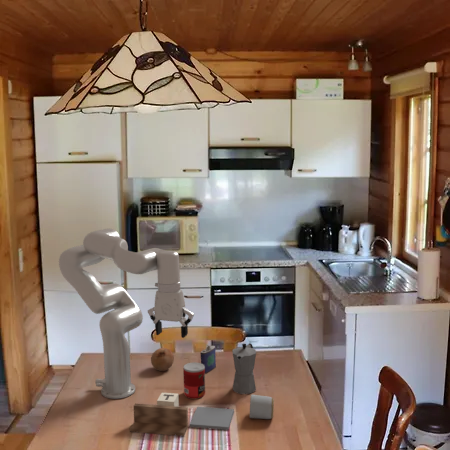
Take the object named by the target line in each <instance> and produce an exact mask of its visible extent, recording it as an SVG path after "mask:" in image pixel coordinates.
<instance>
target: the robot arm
mask: <svg viewBox="0 0 450 450" xmlns="http://www.w3.org/2000/svg"><path fill="white" fill-rule="evenodd" d="M105 259H108V260H110V261H113V263H114V264H115V266H116V267H117V268H118V269H119V270H121V271H124V272H127V273H130V274H134V275H143V274H147V273H150V272H153V271H157V272H156V273H157V282H155V283H154V286H155V288H157V290H156V291H155V297H154V307H151V308H150V309H148V310H147V313H148V315H149V316H150V317H149V318H150V320H152V322H153V323H152V324H154V330H155V335H156V336H159V335H160V334H162V333H163V325H162V324H163V323H162V321H164V322H166V321H167V322H175V323H177V322H179V323H180V325H181V326H180V335H181V338H183V339H184V338H186V337H187V335H188V334H189V333H188V330H189V329H188V327H189V326H188V325H189V324H190V323H191V322H192V320H193V318H194V316H195V313H194V312H192V311H191V310H189V309H188V308H186V304H185V303H186V302H185V298H184V297H185V296H184V293H183V290H182V289H181V274H180V272H181V271H180V255H179V253H178V251H176V250H167V249H166V250H165V249H162V248H158V247H153V248H149V249H144V250H140V251H137V252H135V251H130V250H129V246H128V242H127V241H126V240H125V239H124V238H121V236H120V233H118V231H117V230H116V229H114V228H103V229H98V230H94V231H91V232H89V233H87V234H86V235H85V237H84V238H83V241H82V244H81V245H76V246H72V247H69V248H67V249H65V250H63V251H62V252H61V253H60V255H59V258H58V267H59V271H60V273H61V274H62V277H63V278H64V279H65V280H66V281H67V282H68V284H70V285H71V286H72V288H73V289H74V290H75V291H76V292H77V294H78V295H79V296H80V298H81V299H82V301H83V302H84V303H85V304H86V306H87V307H88V308H89V310H90V311H91V312H93V313H94V314H96V315H97V314H98V315H99V314H102V313H105V314H103V315H102V317H101V318H100V320H99V331H100V335H101V338H102V339H101V340H102V346H103V347H102V348H103V364H104V367H103V368H104V378H103V379H102V378H95V381H94V382H95V387H101V393H100V394H101V395H102V396H103V397H104V398H106V399H113V400H117V399H118V400H119V399H123V398H128V397H129V396H131V395H133V394H134V393H135V392H136V385H135V384H134V383H132V381H131V380H132V379H131V355H130V353H131V351H130V344H129V343H130V342H129V341H128V339H127V338H126V334H127V333H129V332H130V331H133V330H135V329H137V328H138V327H140V326H141V324H142V323H143V319H144V318H143V317H144V316H143V312H142V310H141V308H140V307H139V306H138V304H137V302H135V301H134V299H133V298H132V297H131V295H130V294H129V292H127V290H126V289H125V288H124V287H123V286H122V285H121V284H118V283H109V284H106V285H103V284H101V283H100V282H99V281H98V279H97V277H95V276H94V275H93V274H92V273H91V272H89V271H87V270H85V269H84V268H86V267H90V266H93V265H97V264H99V263H101V262H103V261H104V260H105ZM186 316H188V318H187V317H186Z"/></svg>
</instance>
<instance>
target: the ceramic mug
mask: <svg viewBox="0 0 450 450" xmlns="http://www.w3.org/2000/svg"><path fill="white" fill-rule="evenodd" d="M249 399H250V400H249V419H261V420H263V419H264V420H271V419H273V418H274V411H275V410H274V405H275V403H274V402H275V399H274V397H271V396H266V395H259V394H258V395H257V394H251V395H250V398H249Z"/></svg>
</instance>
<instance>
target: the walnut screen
mask: <svg viewBox="0 0 450 450" xmlns="http://www.w3.org/2000/svg"><path fill="white" fill-rule="evenodd" d="M188 411H189V408H188V407H187V406H179V407H176V406H162V405H157V404H146V403H145V404H144V403H134V404H133V424H132V425H131V426H130V427H129V432H131V433H140V434H141V433H142V434H154V435H155V434H156V435H166V436H178V437H185V435H186V432H187V431H188V428H189V418H188V417H189V416H188V415H189V412H188Z"/></svg>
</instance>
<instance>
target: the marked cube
mask: <svg viewBox="0 0 450 450" xmlns="http://www.w3.org/2000/svg"><path fill="white" fill-rule="evenodd" d="M179 398H180V397H179V393H173V392H161V393H160V395H159V396H158V398H157V400H156V405H162V406H176V407H180V402H179Z"/></svg>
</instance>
